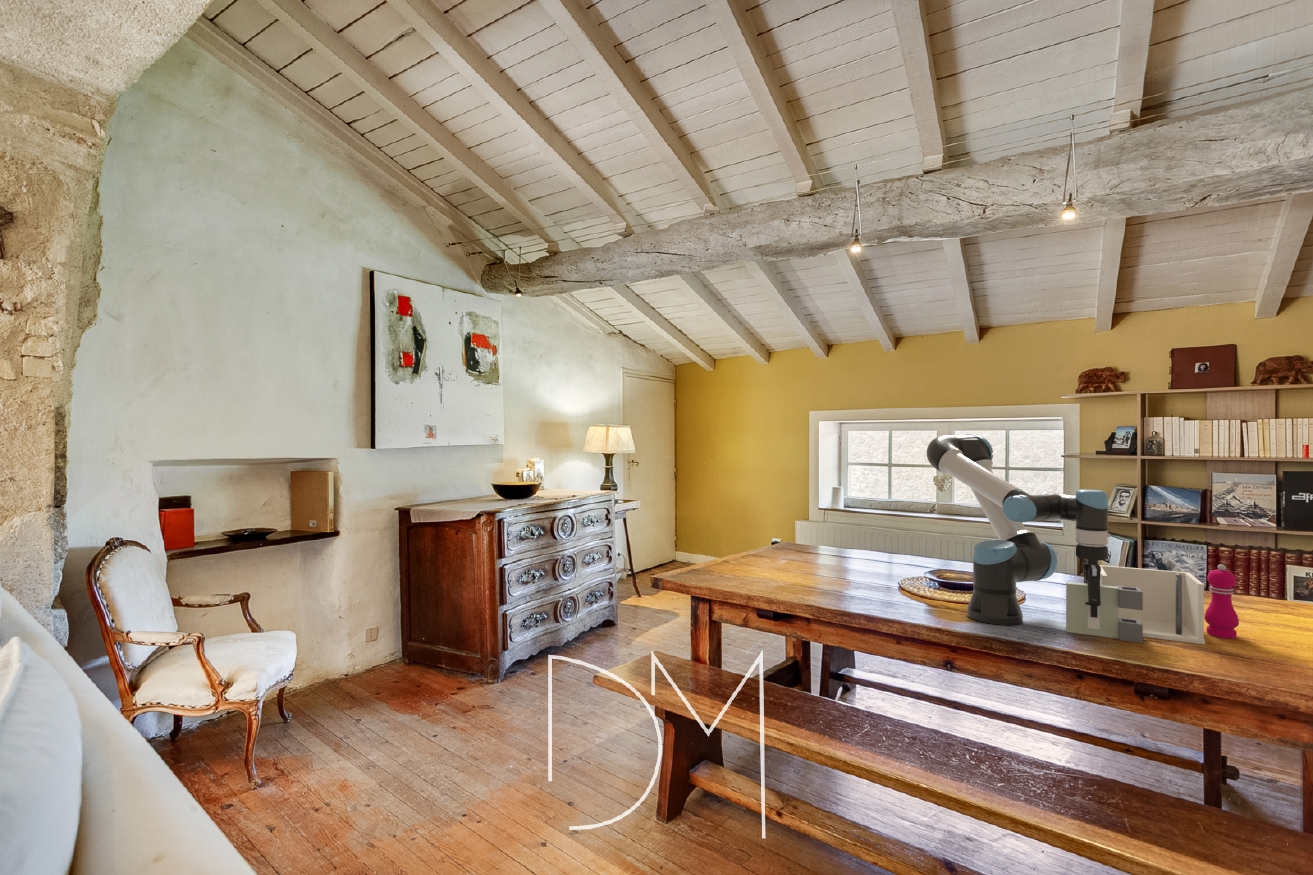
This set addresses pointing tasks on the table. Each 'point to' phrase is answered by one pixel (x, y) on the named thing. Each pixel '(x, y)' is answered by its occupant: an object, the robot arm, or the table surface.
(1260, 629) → the table surface
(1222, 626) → the pepper mill
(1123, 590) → the door
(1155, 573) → the carcass
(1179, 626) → the hinge pin
